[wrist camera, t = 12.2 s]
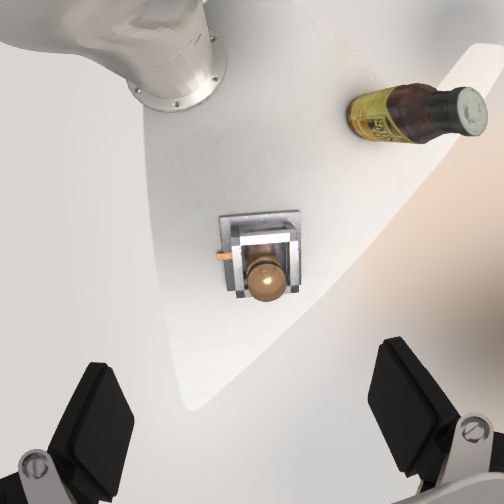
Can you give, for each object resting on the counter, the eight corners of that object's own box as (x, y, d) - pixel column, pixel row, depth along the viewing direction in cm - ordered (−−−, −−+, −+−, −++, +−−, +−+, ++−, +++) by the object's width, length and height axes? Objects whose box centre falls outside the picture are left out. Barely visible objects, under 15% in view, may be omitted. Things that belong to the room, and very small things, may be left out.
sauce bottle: (339, 130, 35) (432, 123, 17) (352, 87, 33) (447, 53, 15) (381, 149, 36) (486, 162, 18) (393, 108, 34) (499, 98, 16)
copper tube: (246, 238, 38) (250, 266, 31) (278, 240, 38) (289, 269, 31) (242, 267, 40) (246, 301, 32) (274, 269, 40) (283, 303, 33)
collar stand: (213, 216, 38) (210, 228, 33) (298, 210, 39) (308, 220, 33) (221, 288, 42) (220, 308, 36) (299, 281, 42) (308, 300, 37)
